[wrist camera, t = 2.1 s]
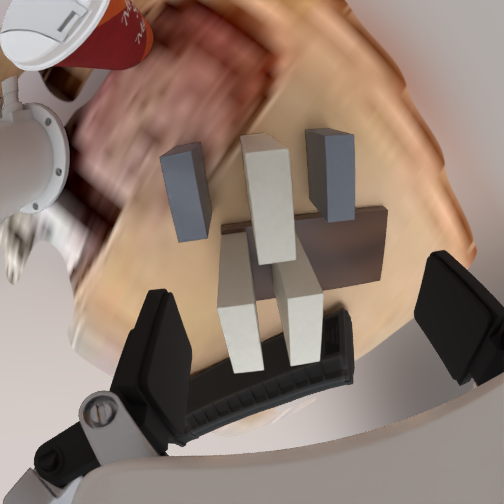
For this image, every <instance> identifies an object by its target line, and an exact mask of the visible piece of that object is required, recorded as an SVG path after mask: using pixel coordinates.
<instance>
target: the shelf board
mask: <svg viewBox="0 0 504 504" xmlns="http://www.w3.org/2000/svg"><path fill="white" fill-rule="evenodd" d="M387 216H388V210H387V209H386V208H385V207H384V206H378V207H368V208H358V209H355V219H354V220H346V221H337V222H329V223H328V222H327V221H326V220H325V218H324V217H323V216H322V214H321V213H313V214H304V215H296V216H294V225H295V232H296V234H297V236H298V239H299V241H300V243H301V245H302V247H303V249H304V251H305V253H306V256H307V258H308V260H309V262H310V264H311V266H312V269H313V271H314V273H315V275H316V277H317V280H318V282H319V284H320V286H321V288H322V291H324V290H330V289H336V288H342V287H347V286H353V285H358V284H364V283H369V282H375V281H380V278H381V271H382V264H383V256H384V247H385V238H386V228H387ZM240 232H246V234H247V241H248V248H249V255H250V262H251V269H252V276H253V283H254V290H255V299H256V301H257V300H264V299H272V298H276V295H275V291H274V285H273V274H272V264H263V265H259V263H258V257H257V251H256V245H255V239H254V233H253V227H252V221H249V222H242V223H234V224H227V225H221V235H226V234H233V233H240Z"/></svg>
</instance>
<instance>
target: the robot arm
mask: <svg viewBox="0 0 504 504" xmlns="http://www.w3.org/2000/svg"><path fill="white" fill-rule="evenodd" d="M2 96H3V98H4V107H5V108H4V109H2V100H1V97H0V223H1V222H3V221H4V220H6V219H7V218H8V217H10V216H11V215H13V214H14V213H16V212H17V211H20V212H22V213H27V214H32V213H38V212H40V211H43V210H44V209H46V208H47V207H49V206H50V205H51V204H52V203H53V202H54V201H56V199H57V198H58V197H59V195H60V194H61V192H62V190H63V188H64V186H65V183H66V180H67V176H68V171H69V164H70V150H69V143H68V138H67V135H66V131H65V129H64V126H63V124H62V122H61V120H60V119H59V118H58V116H57V115H56V113H55V112H53V111H52V110H51V109H50V108H49V107H47V106H45V105H43V104H39V103H26V104H22V102H19V101H18V79H17V76H12V77H9V78H7V79H5V80H3V81H2ZM414 317H415V320H416V321H417V323H418V324H419V326H420V327H421V329H422V330H423V331H424V333H425V335H426V336H427V338H428V339H429V341H430V342H431V344H432V345H433V347H434V348H435V350H436V352H437V353H438V355H439V356H440V358H441V360H442V361H443V363H444V364H445V366H446V368H447V369H448V371H449V373H450V375H451V376H452V378H453V379H455V380H457V382H458V384H459V385H460V386H461V385H463V384H465V383H467V382H469V381H470V380H471V378H473V379H474V385H473V390H471V391H469V392H467V393H465V394H463V395H461V396H459V397H457V398H455V399H453V400H450V401H449V402H446V403H444V404H442V405H439V406H437V407H435V408H432V409H430V410H428V411H425V412H423V413H420V414H418V415H416V416H413V417H410V418H407V419H404V420H402V421H399V422H397V423H393V424H390V425H387V426H384V427H381V428H378V429H374V430H371V431H368V432H364V433H360V434H357V435H353V436H349V437H345V438H341V439H337V440H332V441H328V442H324V443H318V444H313V445H308V446H302V447H296V448H290V449H283V450H275V451H266V452H257V453H246V454H234V455H213V456H169V455H168V454H167V453H166V452H165V451H166V450H167V449H168V443H172V444H178V441H179V436H183V434H184V428H185V417H186V407H187V397H188V388H189V379H190V370H191V362H192V348H191V345H190V342H189V339H188V337H187V334H186V331H185V328H184V326H183V323H182V320H181V317H180V314H179V311H178V308H177V305H176V302H175V299H174V296H173V294H172V293H171V292H167V290H166V289H156V290H149V291H148V293H147V296H146V298H145V301H144V304H143V306H142V309H141V311H140V314H139V317H138V319H137V322H136V325H135V328H134V329H132V330H131V331H130V332H129V334H128V337H127V340H126V343H125V346H124V348H123V351H122V354H121V357H120V360H119V363H118V366H117V369H116V372H115V375H114V378H113V381H112V384H111V387H110V391H97V392H95V393H93V394H91V395H89V396H88V397H87V398H86V399H85V400H84V401H83V402H82V404H81V406H80V409H79V420H80V421H79V422H77V423H76V424H74V425H73V426H71V427H69V428H68V429H66V430H65V431H63V432H62V433H60V434H58V435H57V436H55V437H54V438H52V439H50V440H49V441H47V442H45V443H44V444H43V445H41V446H40V447H39V448H38V450H37V451H36V454H35V457H34V466H35V468H34V469H32V468H29V469H28V470H27V471H26V472H25V473H24V475H23V476H22V477H21V478H20V479H19V481H18V482H17V483H16V484H15V485H14V487H13V488H12V489H11V490H10V491H9V492H8V494H7V495H6V496H5V498H4V500H3V504H504V307H503V306H502V305H501V304H500V303H499V302H498V301H497V299H496V298H495V297H494V296H493V295H492V294H491V293H490V292H489V291H488V290H487V289H486V288H485V287H484V286H483V285H482V284H481V283H480V282H479V281H478V280H477V279H476V278H475V277H474V276H473V275H472V274H471V273H470V272H468V270H467V269H466V268H464V267H463V266H462V265H461V264H460V263H459V262H458V261H457V260H456V259H455V258H454V257H452V256H451V255H450V254H449V253H448V252H447V251H445V250H441V251H435V252H432V253H431V254H430V256H429V257H428V258H427V262H426V266H425V271H424V275H423V279H422V284H421V288H420V292H419V295H418V299H417V303H416V306H415V310H414Z"/></svg>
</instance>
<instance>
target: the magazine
mask: <svg viewBox="0 0 504 504" xmlns="http://www.w3.org/2000/svg"><path fill="white" fill-rule="evenodd" d="M261 348H262V356H263V364H264V370H260V371H252V372H243V373H234V371H233V367H232V364H231V360H230V358H228V359H226V360H224V361H222V362H221V363H219V364H217V365H215V366H213V367H211V368H209V369H208V370H206V371H204V372H202V373H201V374H199V375H197V376H195V377H193V378H192V379H190V380H189V388H188V397H187V407H186V417H185V428H184V434H183V436H179V441H178V444H176V445H179V446H181V447H184V446H185V445H186V443H187V442H189V441H191V440H194V439H197V438H199V436H202V435H204V434H206V433H208V432H211V431H213V430H215V429H218V428H220V427H222V426H224V425H227V424H229V423H232V422H235V421H237V420H240V419H242V418H245V417H247V416H250V415H253V414H256V413H258V412H261V411H264V410H267V409H270V408H273V407H276V406H279V405H282V404H285V403H288V402H291V401H293V400H296V399H298V398H301V397H304V396H307V395H310V394H313V393H317V392H320V391H323V390H326V389H330V388H334V387H339V386H342V385H350V384H353V374H354V347H353V332H352V322H351V317H350V315H349V314H348V312H347V310H345V309H344V308H341V309H340V311H337V312H335V313H333V314H331V315H328V316H326V317H324V318H323V321H322V338H321V353H320V361H318V362H312V363H307V364H301V365H295V366H290V361H289V356H288V351H287V347H286V342H285V337H284V334H282V335H279V336H277V337H275V338H272V339H270V340H268V341H265V342H263V343H261Z"/></svg>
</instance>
